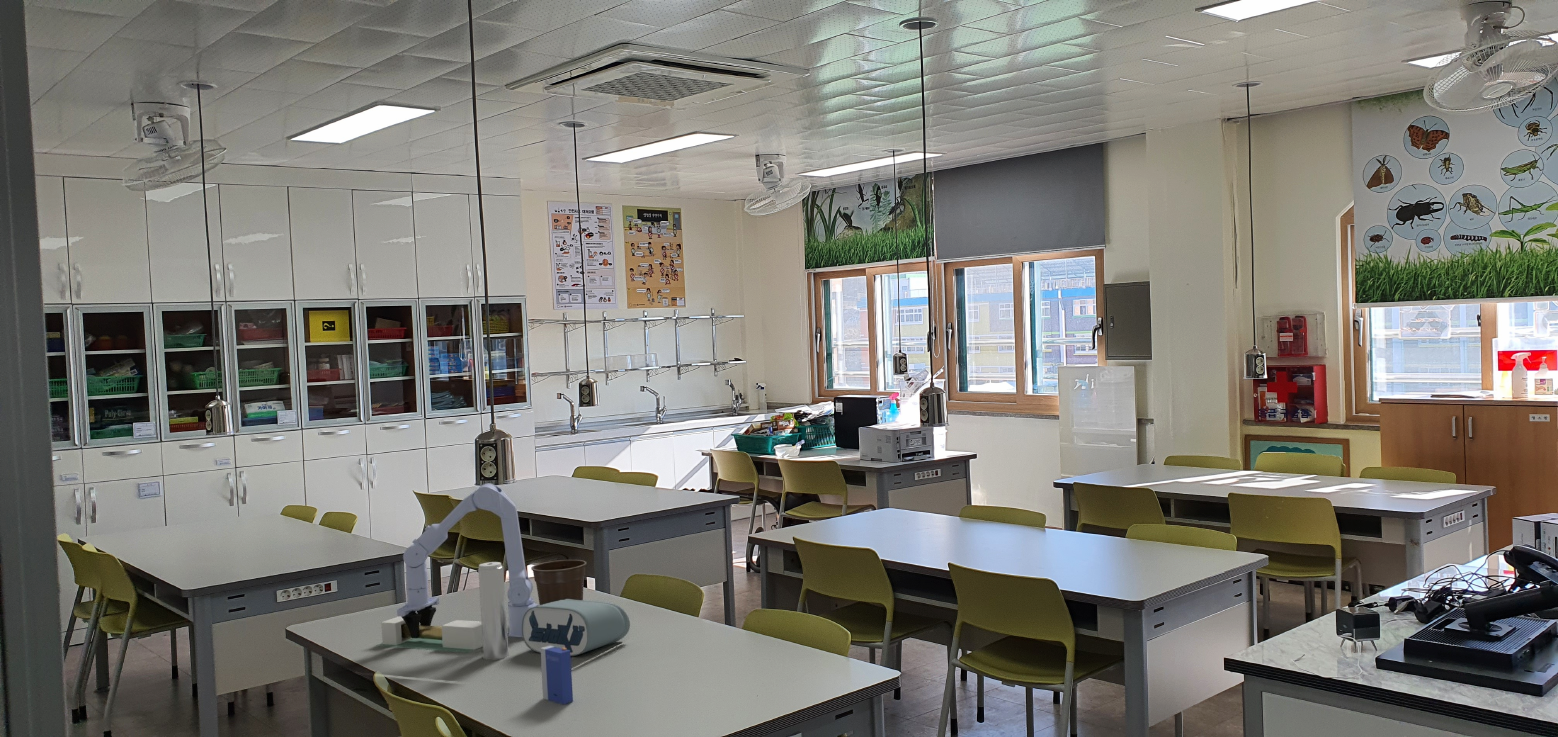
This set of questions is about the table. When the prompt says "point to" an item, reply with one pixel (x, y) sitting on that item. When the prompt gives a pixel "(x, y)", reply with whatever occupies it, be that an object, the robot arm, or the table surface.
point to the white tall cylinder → (493, 610)
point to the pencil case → (574, 625)
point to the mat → (427, 645)
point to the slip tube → (423, 632)
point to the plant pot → (559, 580)
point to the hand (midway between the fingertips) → (420, 635)
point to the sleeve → (462, 634)
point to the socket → (393, 631)
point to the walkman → (556, 674)
